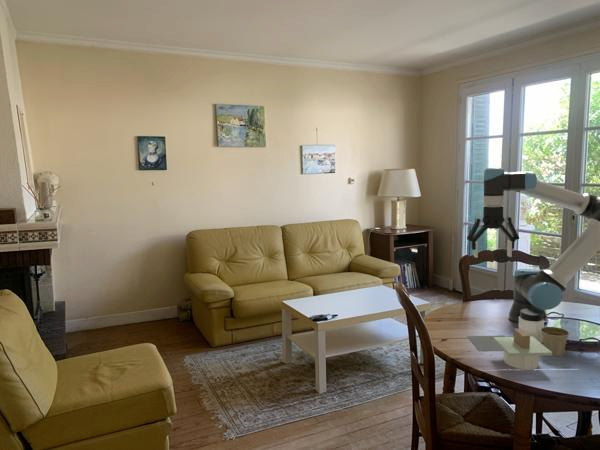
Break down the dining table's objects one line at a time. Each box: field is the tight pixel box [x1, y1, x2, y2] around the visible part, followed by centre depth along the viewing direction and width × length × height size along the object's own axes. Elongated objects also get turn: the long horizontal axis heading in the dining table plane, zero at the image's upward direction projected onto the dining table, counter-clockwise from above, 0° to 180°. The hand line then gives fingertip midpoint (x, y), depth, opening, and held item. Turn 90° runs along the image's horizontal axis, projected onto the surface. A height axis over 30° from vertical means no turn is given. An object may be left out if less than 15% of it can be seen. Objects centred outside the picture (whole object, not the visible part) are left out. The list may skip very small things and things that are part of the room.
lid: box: [494, 328, 553, 357], centre depth 155 cm, size 14×14×6 cm
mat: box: [466, 335, 506, 352], centre depth 173 cm, size 15×15×1 cm
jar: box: [518, 309, 545, 344], centre depth 174 cm, size 9×8×12 cm
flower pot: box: [540, 326, 570, 357], centre depth 163 cm, size 9×9×9 cm
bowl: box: [502, 351, 540, 372], centre depth 156 cm, size 11×11×6 cm
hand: (492, 256), depth 184 cm, fingers open, 13 cm apart
